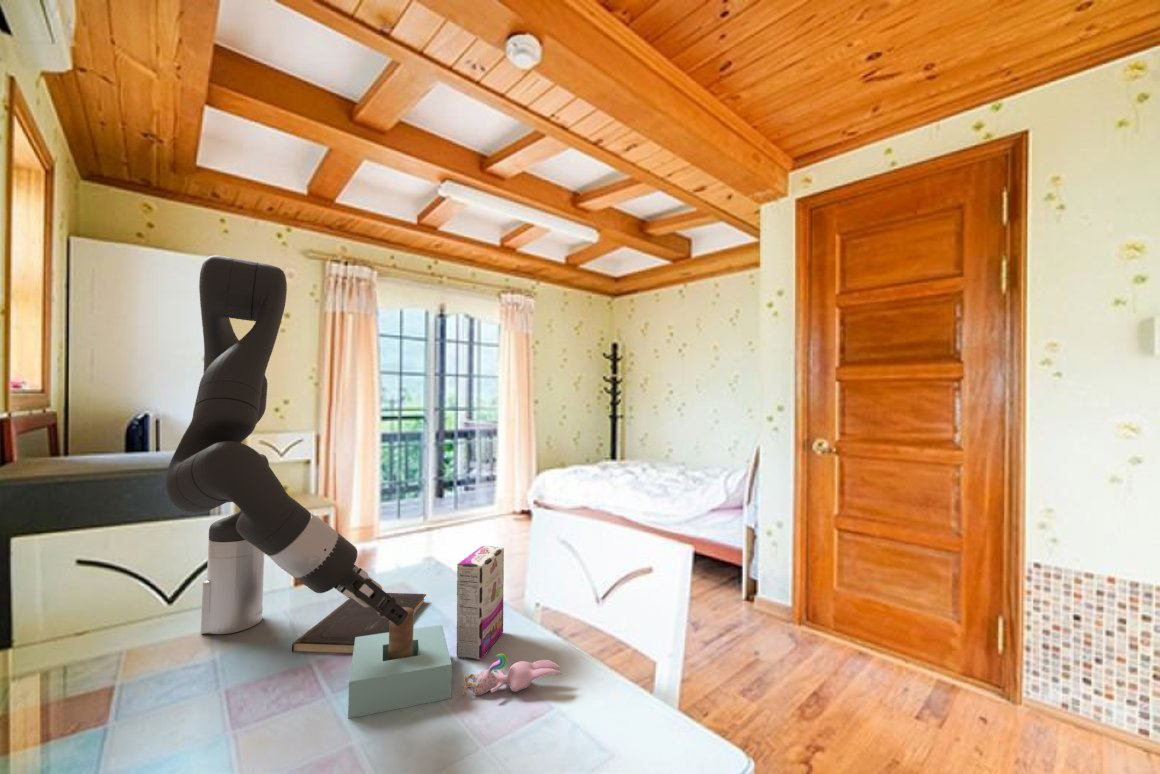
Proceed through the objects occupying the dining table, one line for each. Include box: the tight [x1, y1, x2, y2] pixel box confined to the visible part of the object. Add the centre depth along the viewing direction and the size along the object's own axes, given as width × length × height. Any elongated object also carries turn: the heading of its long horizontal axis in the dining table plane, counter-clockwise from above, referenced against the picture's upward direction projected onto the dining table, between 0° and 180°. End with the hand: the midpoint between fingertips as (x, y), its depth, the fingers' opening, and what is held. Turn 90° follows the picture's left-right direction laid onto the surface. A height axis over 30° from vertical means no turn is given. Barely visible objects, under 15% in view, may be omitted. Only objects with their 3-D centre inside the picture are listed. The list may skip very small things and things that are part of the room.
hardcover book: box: [291, 592, 427, 654], centre depth 98 cm, size 16×23×2 cm
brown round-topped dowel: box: [388, 607, 415, 660], centre depth 78 cm, size 4×4×11 cm
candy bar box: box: [456, 545, 505, 661], centre depth 90 cm, size 11×5×16 cm, turn 168°
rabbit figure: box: [462, 653, 562, 697], centre depth 76 cm, size 6×6×15 cm
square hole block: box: [347, 624, 453, 719], centre depth 78 cm, size 14×14×5 cm
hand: (389, 610), depth 77 cm, fingers open, 8 cm apart
